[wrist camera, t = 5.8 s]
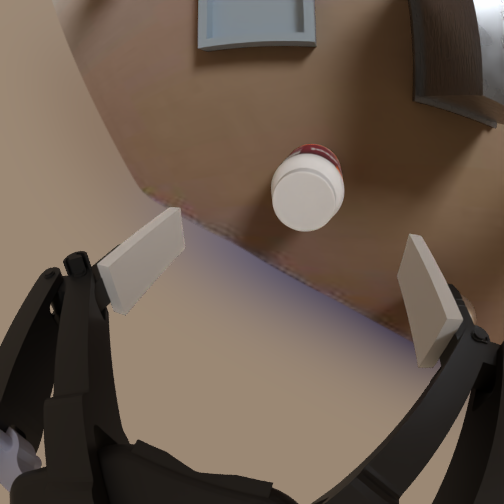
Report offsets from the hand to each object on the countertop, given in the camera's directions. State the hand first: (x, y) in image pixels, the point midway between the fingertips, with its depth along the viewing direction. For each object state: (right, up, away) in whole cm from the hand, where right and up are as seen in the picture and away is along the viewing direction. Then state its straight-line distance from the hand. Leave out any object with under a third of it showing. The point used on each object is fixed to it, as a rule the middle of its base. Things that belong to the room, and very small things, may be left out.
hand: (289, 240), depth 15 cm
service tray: (-1, +26, +5) cm, 27 cm away
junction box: (+20, +22, +1) cm, 29 cm away
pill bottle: (+5, +8, +14) cm, 17 cm away
